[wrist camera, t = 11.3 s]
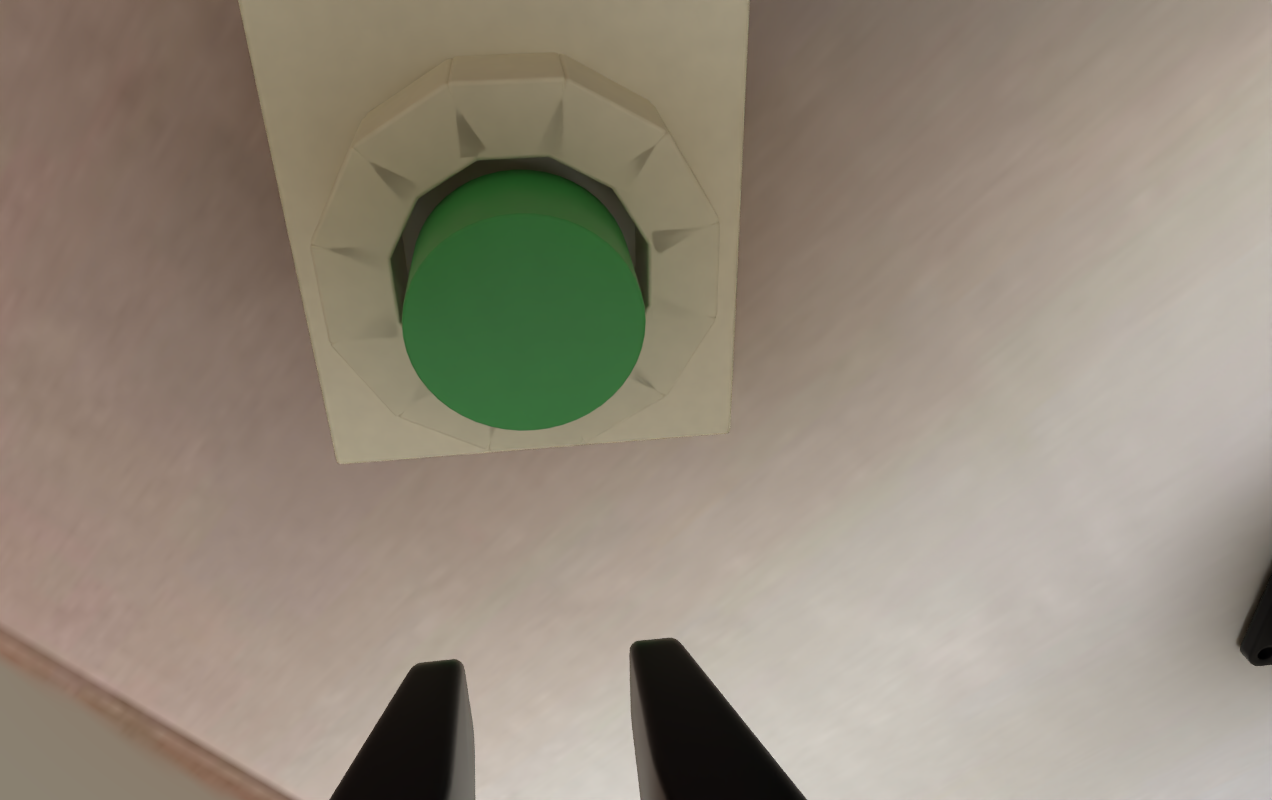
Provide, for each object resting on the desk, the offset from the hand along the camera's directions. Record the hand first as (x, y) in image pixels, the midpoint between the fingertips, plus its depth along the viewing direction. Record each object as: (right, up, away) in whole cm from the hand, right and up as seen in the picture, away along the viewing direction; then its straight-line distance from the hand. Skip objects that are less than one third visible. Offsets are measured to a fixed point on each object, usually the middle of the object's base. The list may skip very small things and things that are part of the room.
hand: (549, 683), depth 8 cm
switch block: (-2, +6, +10) cm, 12 cm away
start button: (-1, +5, +8) cm, 9 cm away
